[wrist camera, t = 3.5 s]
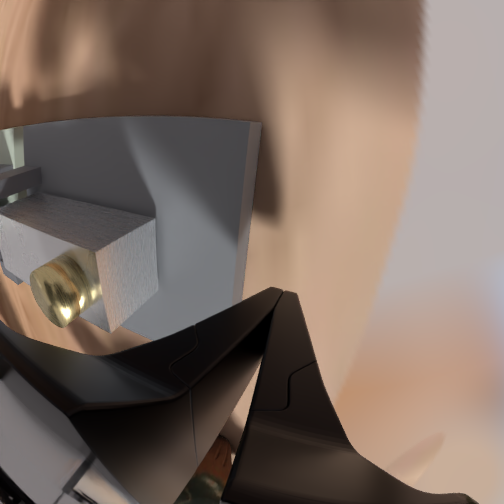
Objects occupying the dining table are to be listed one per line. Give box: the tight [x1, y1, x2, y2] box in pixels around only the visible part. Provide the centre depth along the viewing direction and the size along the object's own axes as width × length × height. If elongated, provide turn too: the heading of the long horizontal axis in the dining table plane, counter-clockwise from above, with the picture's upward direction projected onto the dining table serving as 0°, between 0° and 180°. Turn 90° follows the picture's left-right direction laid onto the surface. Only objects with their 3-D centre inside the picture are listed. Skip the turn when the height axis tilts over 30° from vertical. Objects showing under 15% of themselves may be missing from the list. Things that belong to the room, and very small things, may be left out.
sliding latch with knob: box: [0, 116, 262, 341], centre depth 11 cm, size 10×19×5 cm, turn 85°
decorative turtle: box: [174, 436, 232, 504], centre depth 16 cm, size 10×15×8 cm, turn 83°
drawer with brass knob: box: [0, 192, 159, 333], centre depth 10 cm, size 3×8×4 cm, turn 85°
